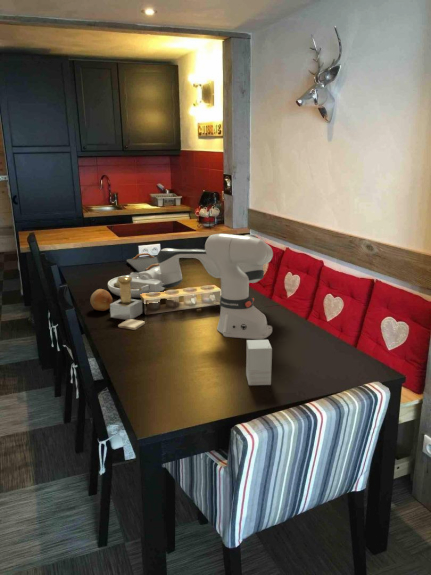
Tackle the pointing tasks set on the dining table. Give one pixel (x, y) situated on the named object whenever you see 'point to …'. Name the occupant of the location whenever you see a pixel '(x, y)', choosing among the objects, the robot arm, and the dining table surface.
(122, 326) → the coaster
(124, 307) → the housing
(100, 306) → the onion
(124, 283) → the cover plug
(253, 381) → the supplement box
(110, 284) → the bowl
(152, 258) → the serving board
